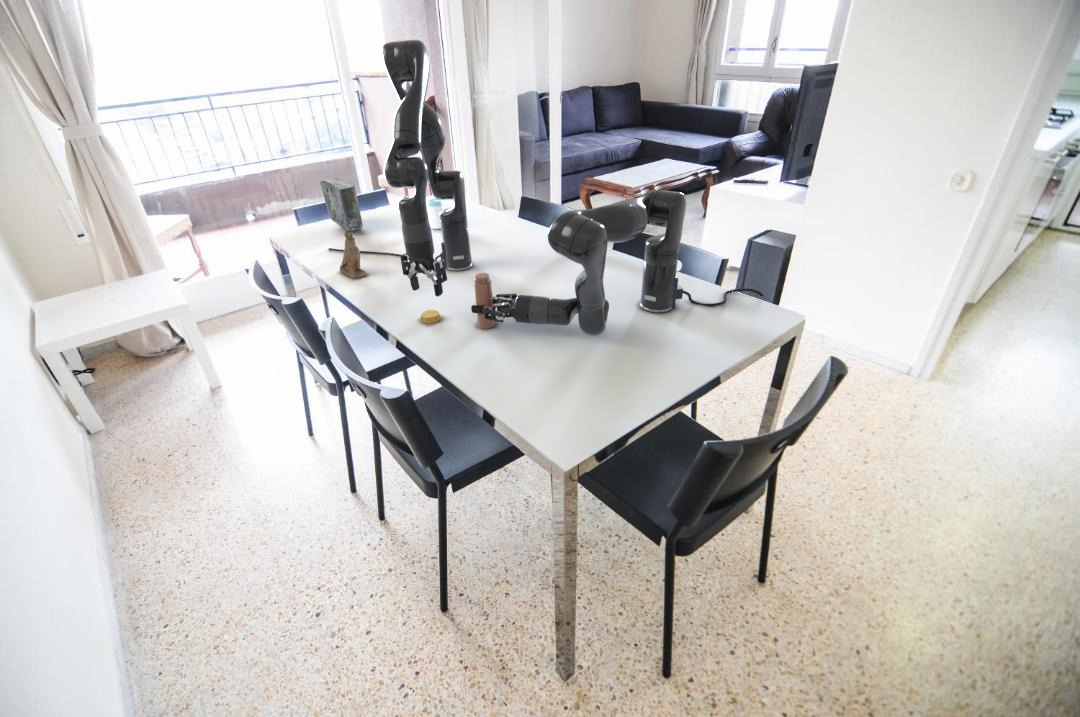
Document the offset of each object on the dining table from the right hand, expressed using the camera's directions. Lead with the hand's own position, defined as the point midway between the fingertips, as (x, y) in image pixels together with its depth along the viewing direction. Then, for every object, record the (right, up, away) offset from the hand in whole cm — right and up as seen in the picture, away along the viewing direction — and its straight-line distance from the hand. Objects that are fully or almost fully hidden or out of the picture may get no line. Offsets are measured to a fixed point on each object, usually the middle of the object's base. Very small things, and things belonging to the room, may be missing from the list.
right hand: (475, 304), depth 138 cm
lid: (-14, -2, +6) cm, 15 cm away
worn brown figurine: (-49, +16, +40) cm, 66 cm away
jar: (+3, -5, +3) cm, 7 cm away
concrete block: (-70, +45, +89) cm, 121 cm away
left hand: (-14, +4, +3) cm, 15 cm away
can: (-28, +44, +85) cm, 99 cm away
